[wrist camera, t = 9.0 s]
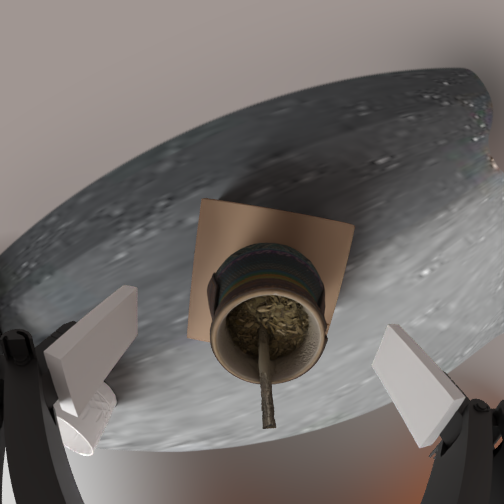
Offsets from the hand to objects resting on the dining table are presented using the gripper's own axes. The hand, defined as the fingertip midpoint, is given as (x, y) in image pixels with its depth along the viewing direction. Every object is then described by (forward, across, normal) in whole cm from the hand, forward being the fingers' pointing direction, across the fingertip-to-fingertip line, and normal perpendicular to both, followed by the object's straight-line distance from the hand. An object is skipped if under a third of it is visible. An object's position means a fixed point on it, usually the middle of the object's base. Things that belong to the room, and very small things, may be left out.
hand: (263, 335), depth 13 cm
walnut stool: (+13, 0, 0) cm, 13 cm away
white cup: (+14, -20, -23) cm, 33 cm away
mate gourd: (+7, 0, 0) cm, 7 cm away
